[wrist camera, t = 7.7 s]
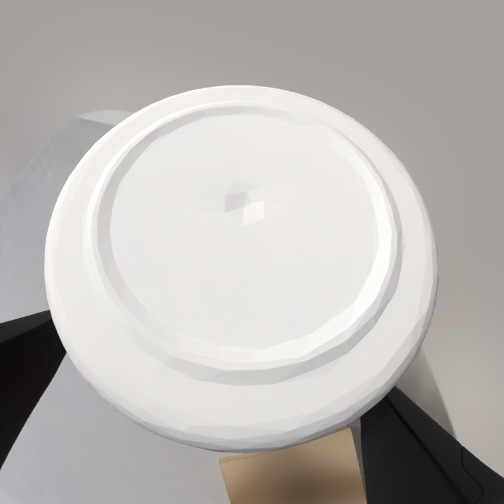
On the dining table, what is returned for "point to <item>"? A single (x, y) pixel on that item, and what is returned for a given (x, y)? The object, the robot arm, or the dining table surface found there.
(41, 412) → the dining table surface
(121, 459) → the dining table surface
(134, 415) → the sprinkles bottle
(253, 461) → the tan square cloth
